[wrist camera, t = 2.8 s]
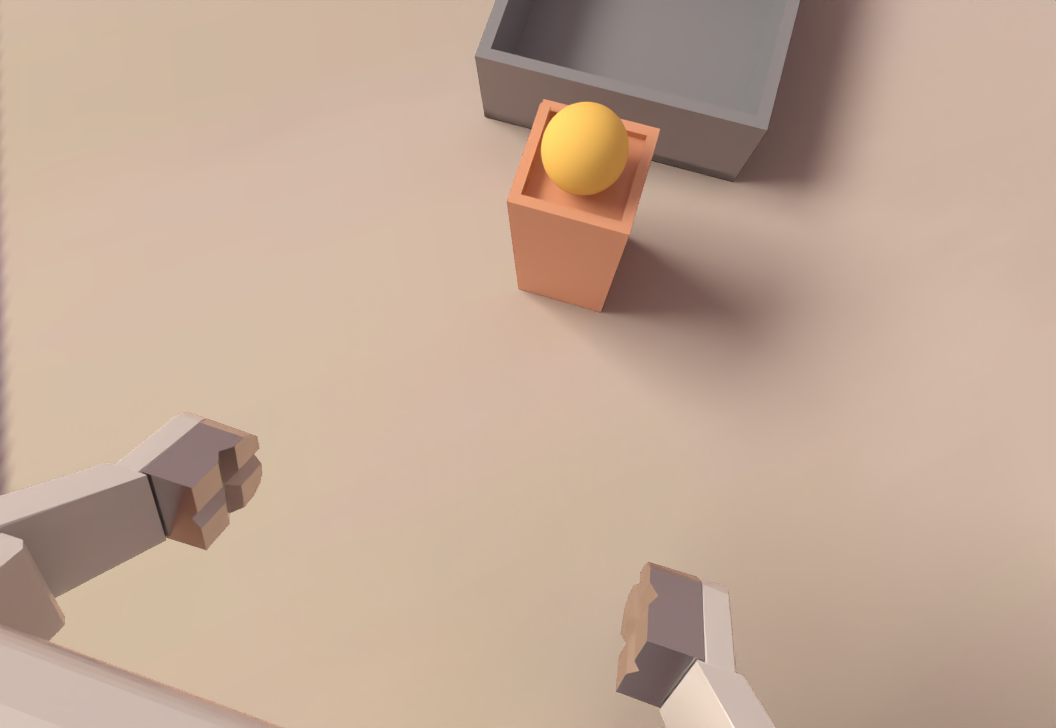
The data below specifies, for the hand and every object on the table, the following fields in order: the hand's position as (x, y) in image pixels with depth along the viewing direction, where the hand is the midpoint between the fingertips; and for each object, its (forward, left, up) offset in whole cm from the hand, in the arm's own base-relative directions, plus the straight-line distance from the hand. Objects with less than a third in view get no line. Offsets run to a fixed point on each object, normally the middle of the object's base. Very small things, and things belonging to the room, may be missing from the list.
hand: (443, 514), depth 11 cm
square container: (-6, -11, -16) cm, 20 cm away
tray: (-13, -23, -16) cm, 31 cm away
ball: (-6, -11, -6) cm, 13 cm away
